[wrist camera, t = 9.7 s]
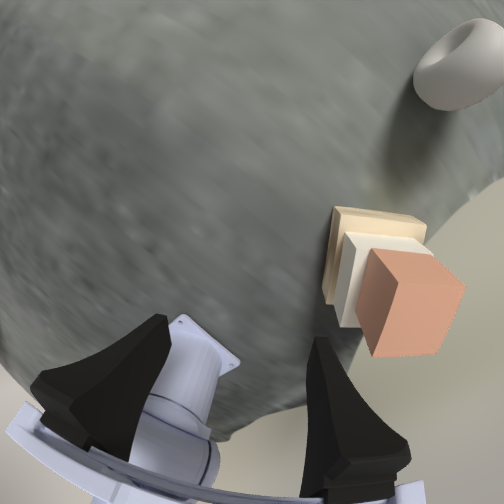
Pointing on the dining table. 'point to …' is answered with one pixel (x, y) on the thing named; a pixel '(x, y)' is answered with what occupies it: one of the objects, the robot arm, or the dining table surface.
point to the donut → (462, 66)
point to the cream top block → (362, 269)
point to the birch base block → (367, 224)
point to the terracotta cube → (406, 303)
